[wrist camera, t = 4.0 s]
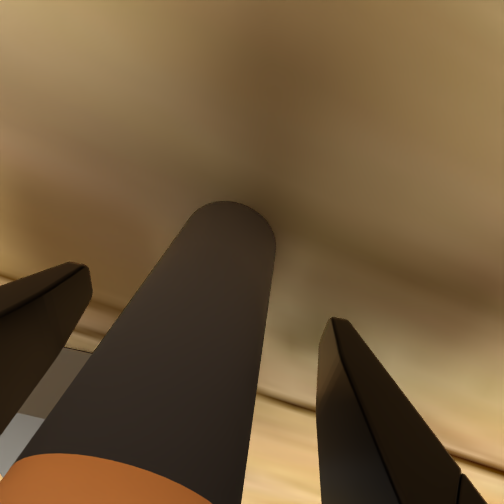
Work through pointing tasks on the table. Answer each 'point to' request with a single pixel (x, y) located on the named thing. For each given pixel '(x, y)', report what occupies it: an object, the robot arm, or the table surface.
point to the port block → (39, 405)
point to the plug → (165, 381)
